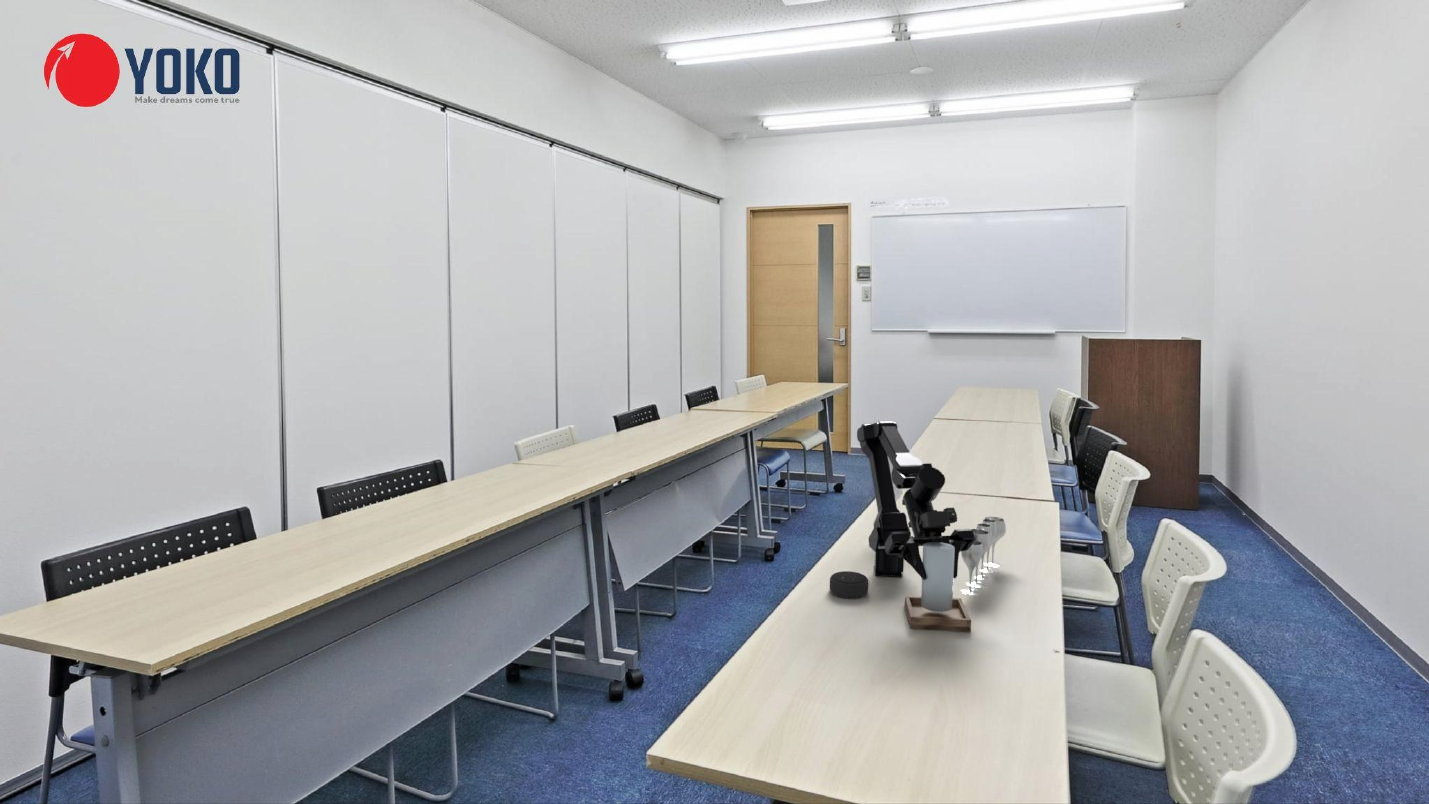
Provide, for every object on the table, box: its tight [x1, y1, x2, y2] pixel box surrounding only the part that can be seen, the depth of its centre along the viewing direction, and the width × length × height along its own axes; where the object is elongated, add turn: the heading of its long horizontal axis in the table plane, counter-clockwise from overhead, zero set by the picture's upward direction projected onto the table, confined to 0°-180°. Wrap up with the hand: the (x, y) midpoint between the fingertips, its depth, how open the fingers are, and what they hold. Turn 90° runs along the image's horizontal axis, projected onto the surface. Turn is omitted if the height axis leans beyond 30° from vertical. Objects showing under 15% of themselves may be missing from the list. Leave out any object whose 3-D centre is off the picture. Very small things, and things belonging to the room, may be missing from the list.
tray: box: [904, 595, 972, 633], centre depth 165 cm, size 12×12×2 cm
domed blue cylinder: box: [920, 542, 955, 612], centre depth 164 cm, size 6×6×13 cm
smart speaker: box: [829, 570, 870, 599], centre depth 180 cm, size 9×9×4 cm
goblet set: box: [959, 516, 1007, 596], centre depth 189 cm, size 28×6×13 cm, turn 148°
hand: (940, 578), depth 162 cm, fingers closed on domed blue cylinder, 6 cm apart
